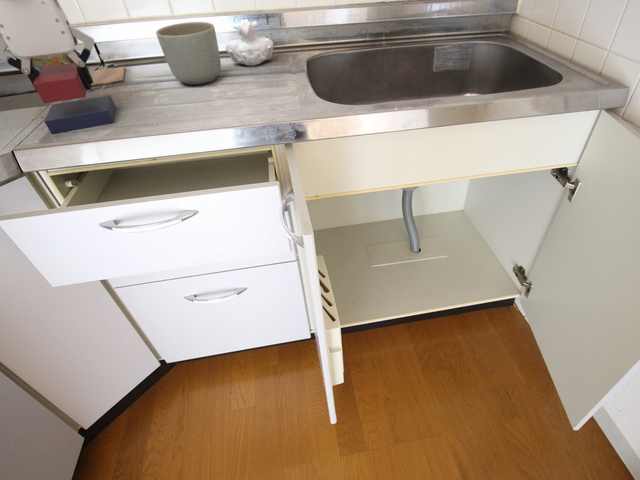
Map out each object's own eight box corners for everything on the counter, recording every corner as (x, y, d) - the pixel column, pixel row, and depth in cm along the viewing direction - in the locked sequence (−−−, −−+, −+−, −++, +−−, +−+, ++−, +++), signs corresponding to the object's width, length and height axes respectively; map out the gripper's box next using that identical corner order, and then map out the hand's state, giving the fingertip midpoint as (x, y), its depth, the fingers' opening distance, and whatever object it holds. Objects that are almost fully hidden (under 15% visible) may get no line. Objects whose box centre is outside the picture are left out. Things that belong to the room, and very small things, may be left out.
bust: (231, 75, 102) (221, 44, 91) (227, 49, 103) (217, 16, 92) (277, 70, 103) (273, 39, 92) (273, 44, 104) (268, 11, 93)
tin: (34, 82, 98) (13, 45, 92) (45, 78, 100) (25, 41, 94) (80, 86, 94) (61, 48, 88) (90, 82, 96) (72, 44, 90)
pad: (83, 88, 93) (82, 86, 93) (88, 74, 101) (87, 72, 101) (123, 82, 95) (122, 79, 95) (125, 68, 103) (124, 66, 103)
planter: (164, 89, 90) (145, 36, 82) (186, 71, 99) (171, 22, 91) (215, 89, 88) (200, 35, 81) (233, 71, 97) (221, 21, 90)
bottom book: (51, 134, 75) (44, 121, 73) (58, 116, 81) (51, 104, 79) (113, 122, 77) (107, 110, 75) (115, 106, 83) (110, 94, 82)
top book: (43, 103, 71) (32, 83, 69) (52, 85, 78) (42, 67, 75) (85, 97, 73) (75, 77, 70) (90, 80, 79) (81, 62, 77)
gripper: (72, -31, 68) (117, 78, 80) (-46, -22, 63) (20, 91, 76) (67, -25, 62) (115, 90, 75) (-63, -15, 58) (11, 105, 70)
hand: (67, 90), depth 75 cm, fingers closed on top book, 6 cm apart
